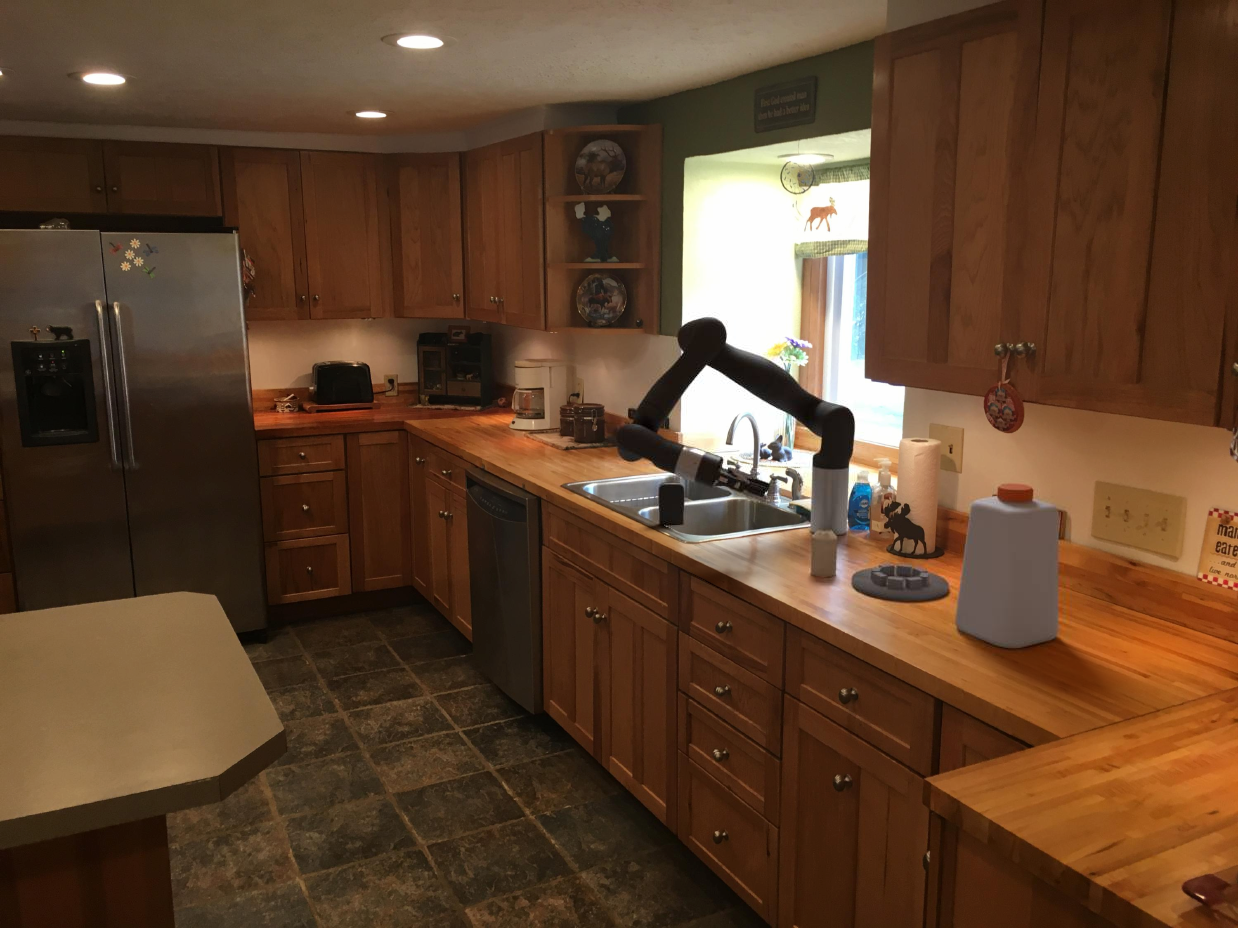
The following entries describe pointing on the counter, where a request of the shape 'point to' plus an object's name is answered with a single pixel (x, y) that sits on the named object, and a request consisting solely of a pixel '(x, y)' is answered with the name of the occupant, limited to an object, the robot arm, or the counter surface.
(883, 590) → the candle dish
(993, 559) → the plastic bottle
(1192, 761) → the counter surface
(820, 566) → the candle
